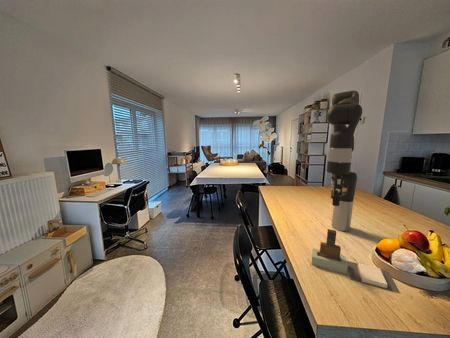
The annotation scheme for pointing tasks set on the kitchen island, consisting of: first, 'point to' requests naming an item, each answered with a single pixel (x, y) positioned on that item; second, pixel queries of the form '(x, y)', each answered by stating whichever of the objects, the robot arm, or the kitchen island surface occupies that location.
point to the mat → (356, 277)
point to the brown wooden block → (330, 247)
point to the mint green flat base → (329, 262)
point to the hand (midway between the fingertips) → (334, 202)
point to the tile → (372, 275)
